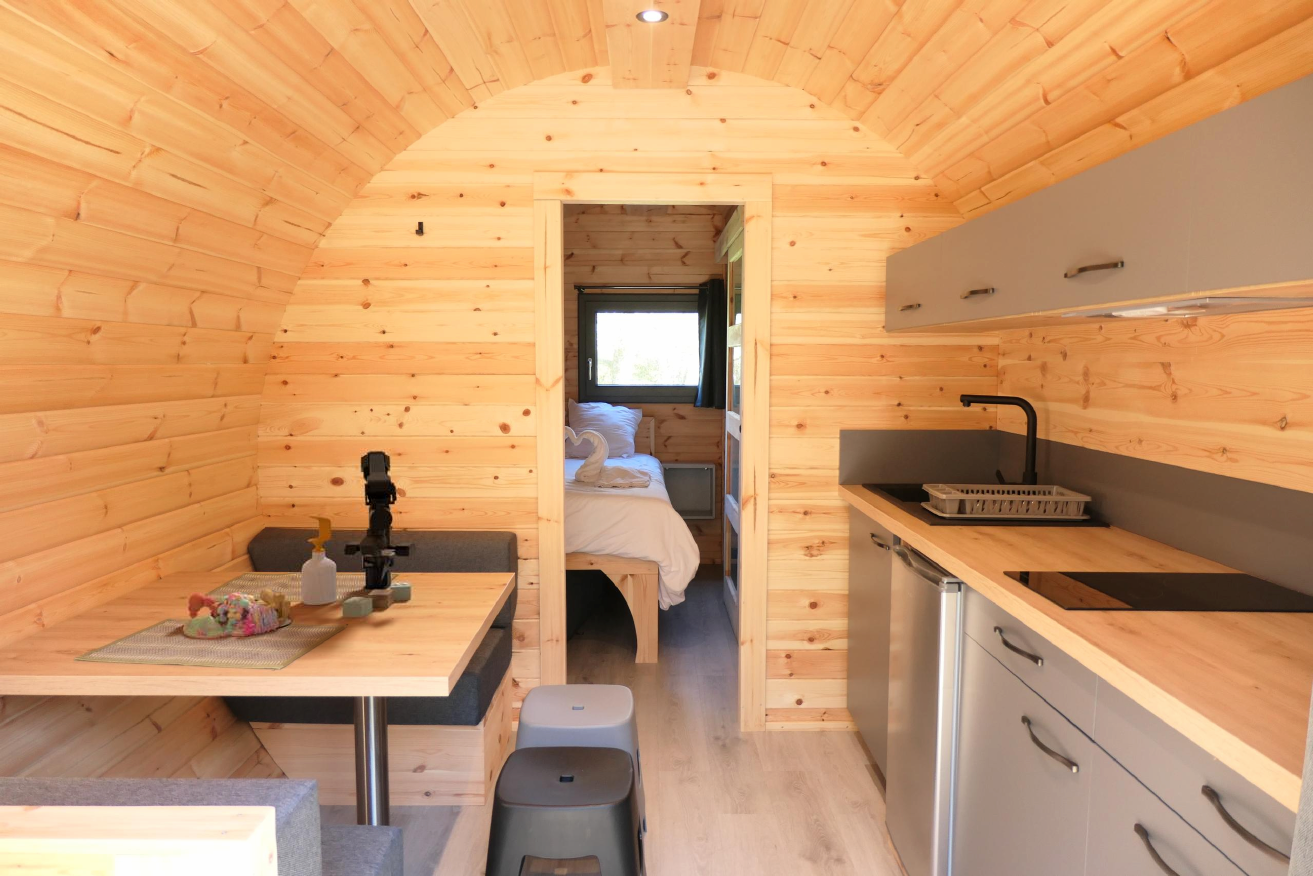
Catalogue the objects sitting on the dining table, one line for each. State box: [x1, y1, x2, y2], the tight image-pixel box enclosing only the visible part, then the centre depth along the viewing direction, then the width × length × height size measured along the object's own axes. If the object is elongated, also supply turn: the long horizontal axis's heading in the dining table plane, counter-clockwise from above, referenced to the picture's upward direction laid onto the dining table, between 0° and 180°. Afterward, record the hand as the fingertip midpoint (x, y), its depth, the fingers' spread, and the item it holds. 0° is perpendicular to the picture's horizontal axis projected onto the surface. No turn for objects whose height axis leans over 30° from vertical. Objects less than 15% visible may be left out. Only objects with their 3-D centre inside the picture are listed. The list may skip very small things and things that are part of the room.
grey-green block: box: [341, 596, 373, 619], centre depth 225 cm, size 6×6×4 cm
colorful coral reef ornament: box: [182, 588, 292, 640], centre depth 215 cm, size 25×24×9 cm
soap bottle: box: [301, 515, 338, 606], centre depth 237 cm, size 9×9×25 cm
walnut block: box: [367, 589, 395, 609], centre depth 234 cm, size 6×6×4 cm
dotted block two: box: [389, 581, 412, 601], centre depth 242 cm, size 6×6×4 cm
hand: (380, 579), depth 233 cm, fingers closed
